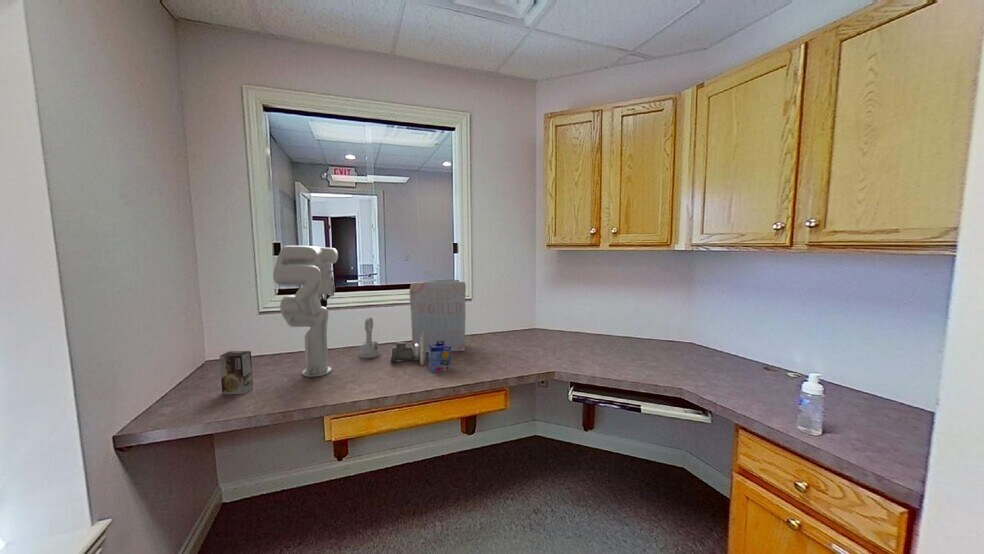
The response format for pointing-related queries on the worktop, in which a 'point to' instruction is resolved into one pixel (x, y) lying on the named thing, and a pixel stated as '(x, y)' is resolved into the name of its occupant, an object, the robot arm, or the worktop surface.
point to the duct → (420, 349)
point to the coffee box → (236, 372)
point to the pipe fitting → (401, 352)
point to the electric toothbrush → (369, 342)
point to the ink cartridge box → (439, 357)
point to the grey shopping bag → (438, 312)
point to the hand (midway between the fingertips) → (323, 307)
